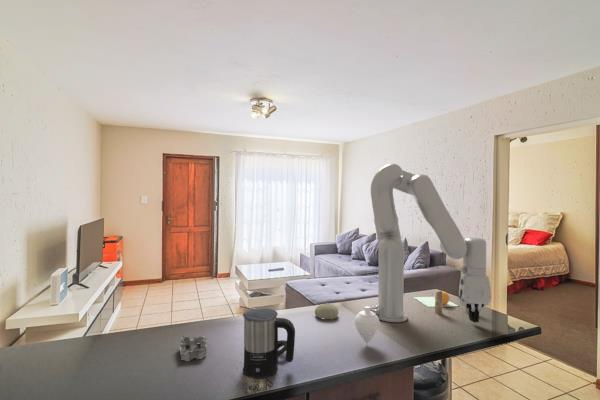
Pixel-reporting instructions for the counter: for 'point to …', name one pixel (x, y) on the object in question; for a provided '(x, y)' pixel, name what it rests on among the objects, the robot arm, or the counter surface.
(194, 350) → the egg carton
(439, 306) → the left post
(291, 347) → the milk frother
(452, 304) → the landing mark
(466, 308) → the right post
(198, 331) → the counter surface
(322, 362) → the counter surface
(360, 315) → the spinning top
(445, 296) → the ball
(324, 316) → the sea urchin shell
